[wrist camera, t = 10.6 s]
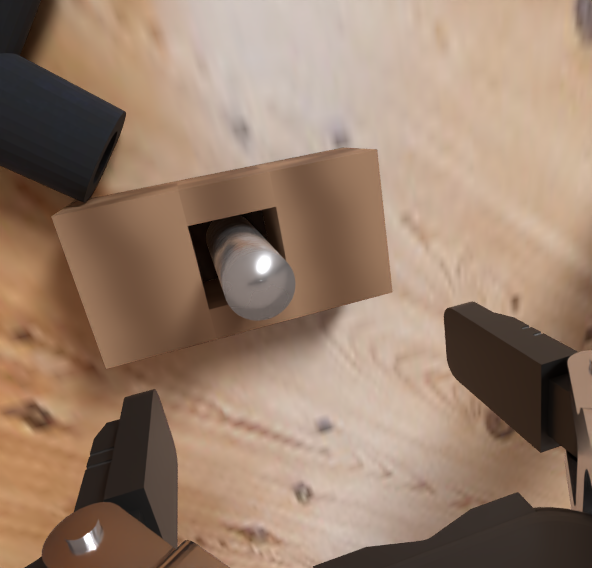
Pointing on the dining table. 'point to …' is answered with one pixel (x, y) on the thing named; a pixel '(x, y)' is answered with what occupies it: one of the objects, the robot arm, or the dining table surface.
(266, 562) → the dining table surface
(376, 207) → the socket block
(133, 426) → the robot arm
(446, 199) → the dining table surface
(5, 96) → the pipe connector
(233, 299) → the pin
